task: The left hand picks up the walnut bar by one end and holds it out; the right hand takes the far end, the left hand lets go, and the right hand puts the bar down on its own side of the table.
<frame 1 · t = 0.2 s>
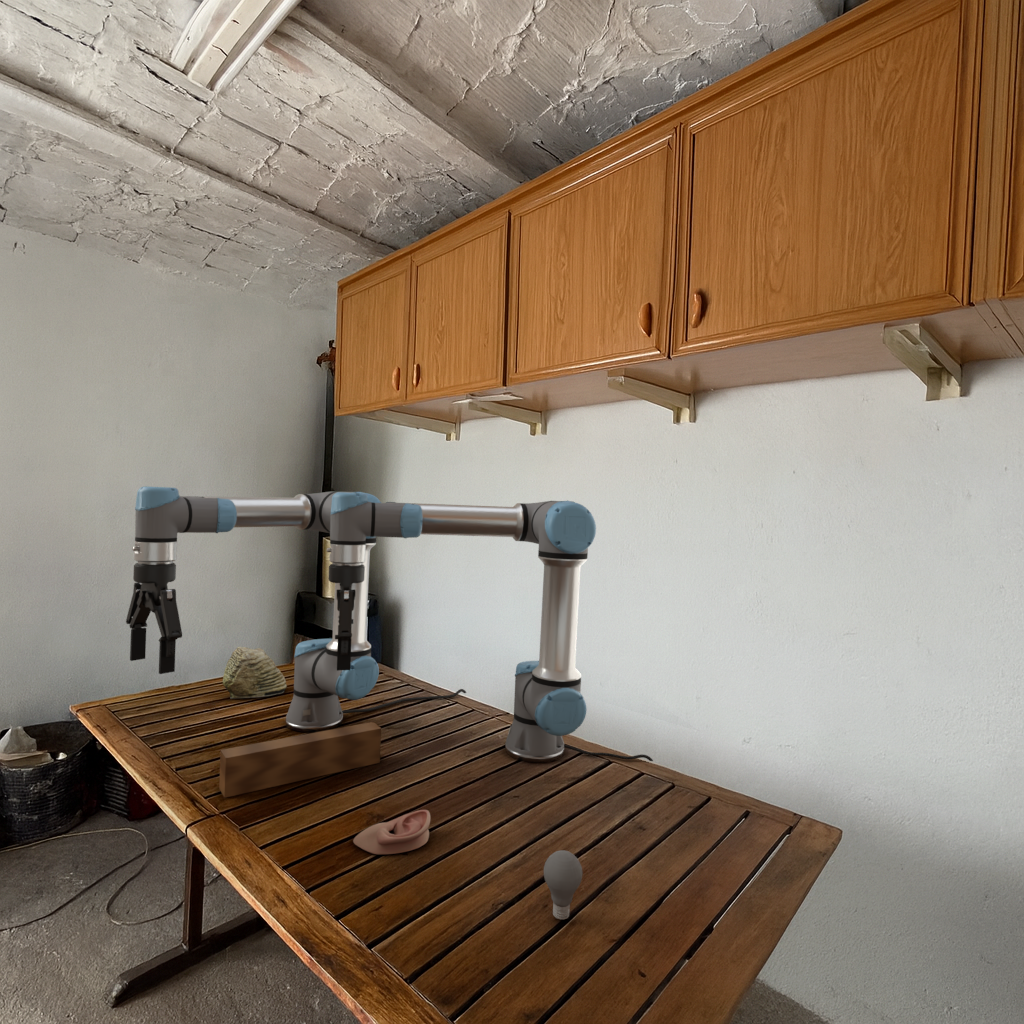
left hand: (151, 666, 129), 27 cm above the table, tool pointing down, fingers open, 13 cm apart
right hand: (343, 661, 137), 28 cm above the table, tool pointing down, fingers open, 13 cm apart
fossil: (254, 694, 198), on the table
bar: (304, 774, 144), on the table
anatomical model: (392, 839, 118), on the table
light bulb: (560, 918, 98), on the table
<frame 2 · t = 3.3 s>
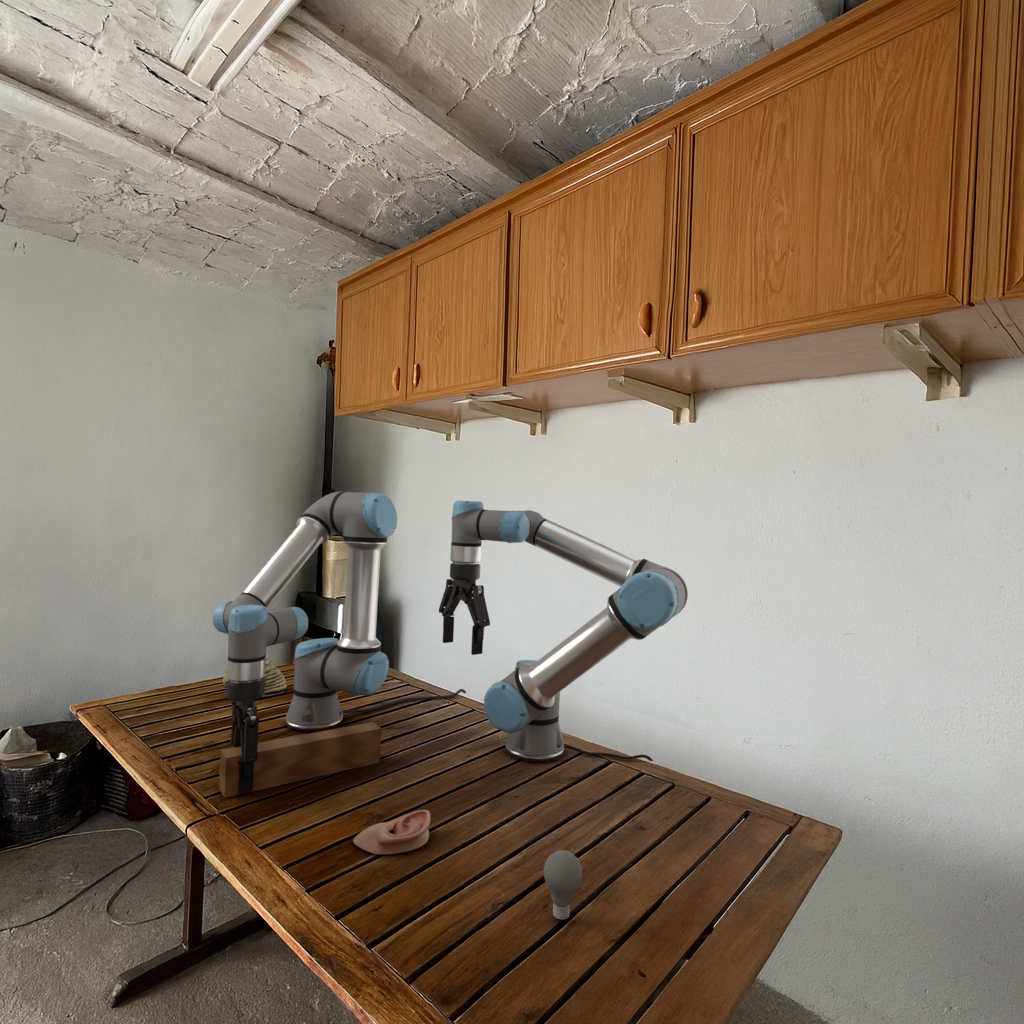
left hand: (242, 786, 136), 1 cm above the table, tool pointing down, fingers closed on bar, 5 cm apart
right hand: (461, 648, 157), 27 cm above the table, tool pointing down, fingers open, 13 cm apart
bar: (304, 774, 144), on the table, touching left hand
everything else where it was.
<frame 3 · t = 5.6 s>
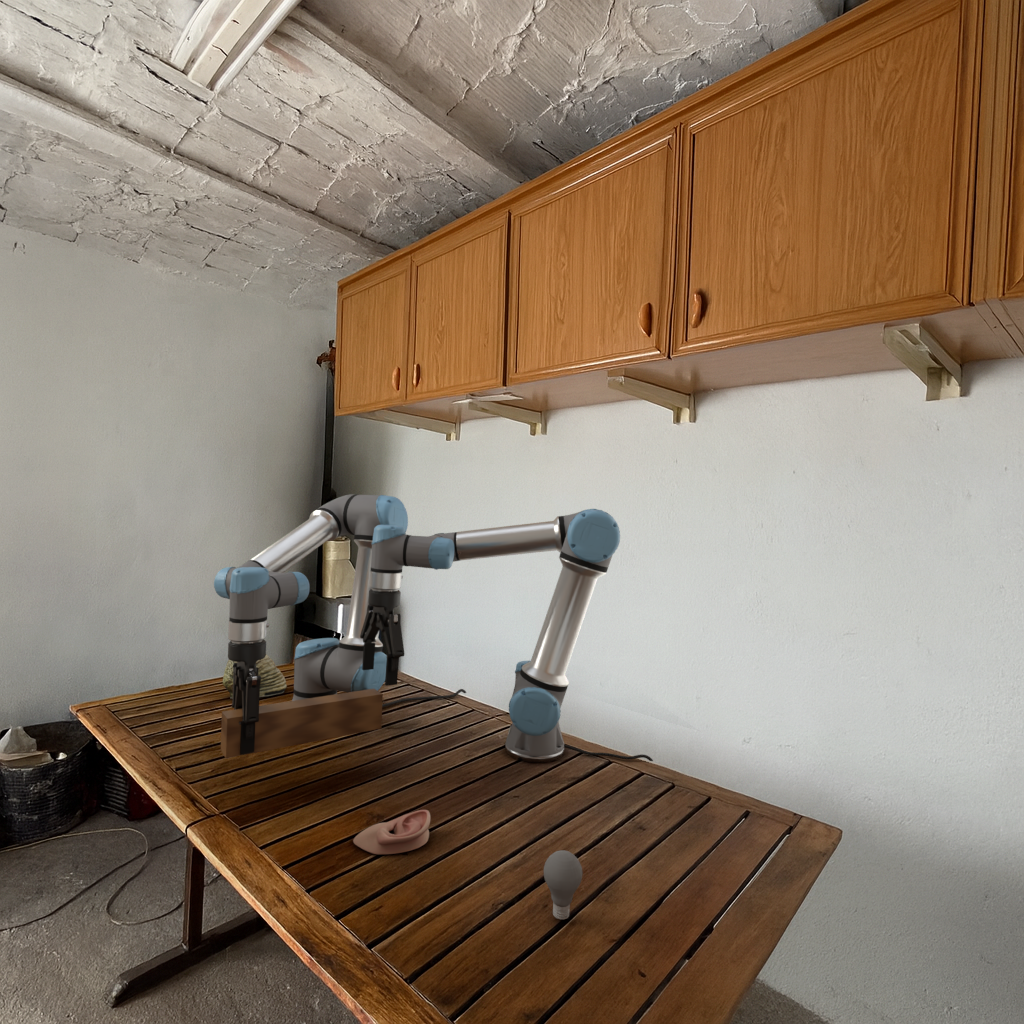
left hand: (243, 747, 136), 9 cm above the table, tool pointing down, fingers closed on bar, 5 cm apart
right hand: (378, 676, 153), 20 cm above the table, tool pointing down, fingers open, 13 cm apart
bar: (305, 738, 144), point 8 cm above the table, touching left hand
everything else where it was.
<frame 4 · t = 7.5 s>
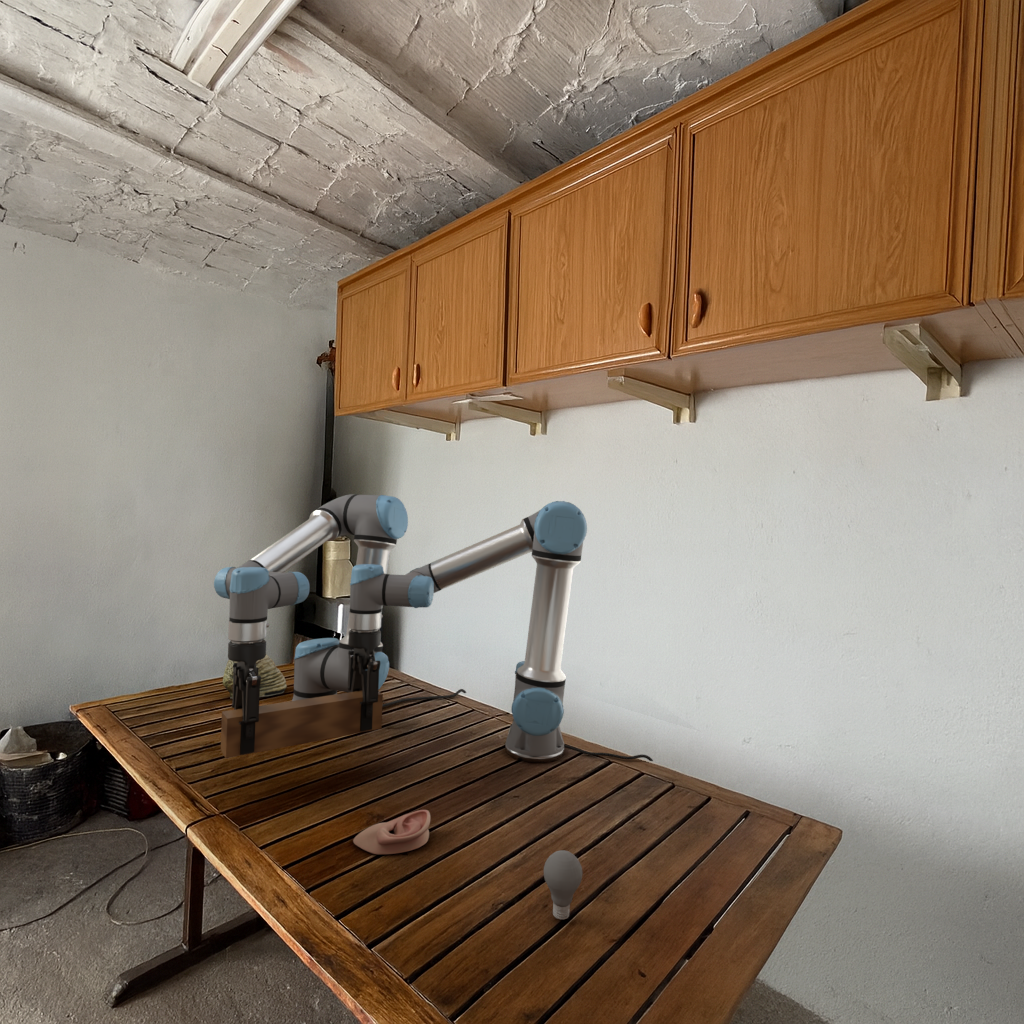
left hand: (243, 747, 136), 9 cm above the table, tool pointing down, fingers closed on bar, 5 cm apart
right hand: (361, 726, 151), 9 cm above the table, tool pointing down, fingers closed on bar, 5 cm apart
bar: (305, 738, 144), point 8 cm above the table, touching left hand, right hand
everything else where it was.
when the left hand's fingers open (9 cm above the table, at t = 8.3 s): bar stays where it is, held by the right hand.
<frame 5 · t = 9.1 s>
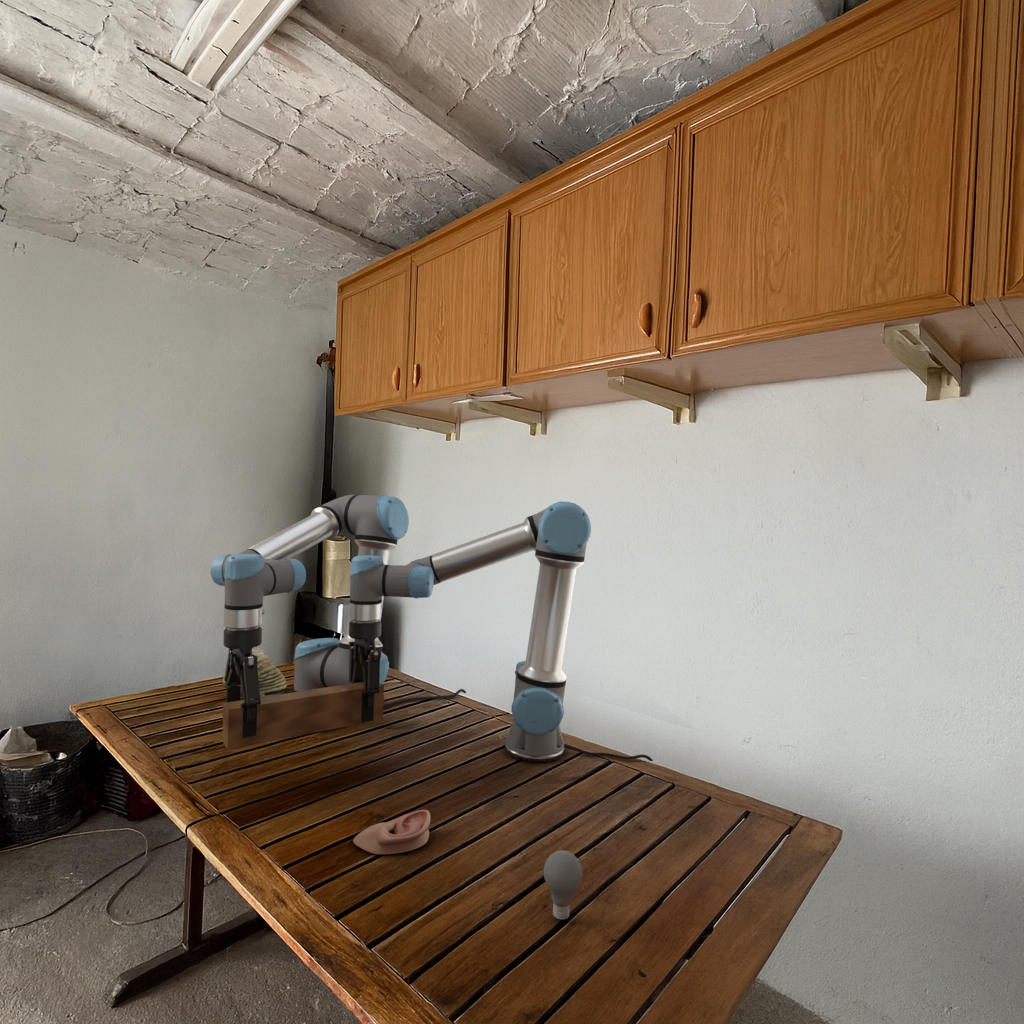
left hand: (240, 726, 135), 14 cm above the table, tool pointing down, fingers open, 13 cm apart
right hand: (362, 717, 151), 11 cm above the table, tool pointing down, fingers closed on bar, 5 cm apart
bar: (307, 730, 144), point 10 cm above the table, touching right hand
everything else where it was.
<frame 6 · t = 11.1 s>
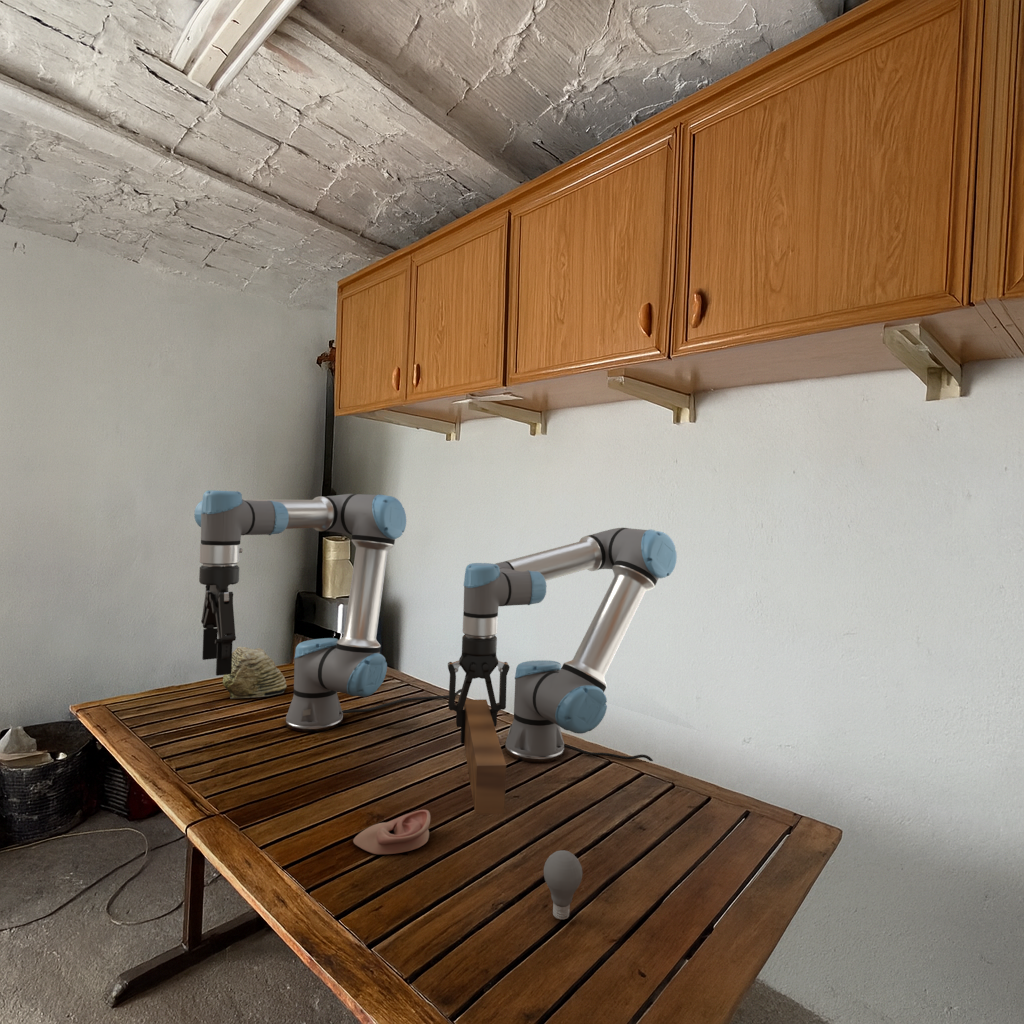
left hand: (216, 666, 132), 27 cm above the table, tool pointing down, fingers open, 13 cm apart
right hand: (475, 740, 138), 12 cm above the table, tool pointing down, fingers closed on bar, 5 cm apart
bar: (480, 769, 125), point 11 cm above the table, touching right hand
everything else where it was.
when the right hand's fingers open (2 cm above the table, at t = 14.9 s): bar stays where it is, on the table.
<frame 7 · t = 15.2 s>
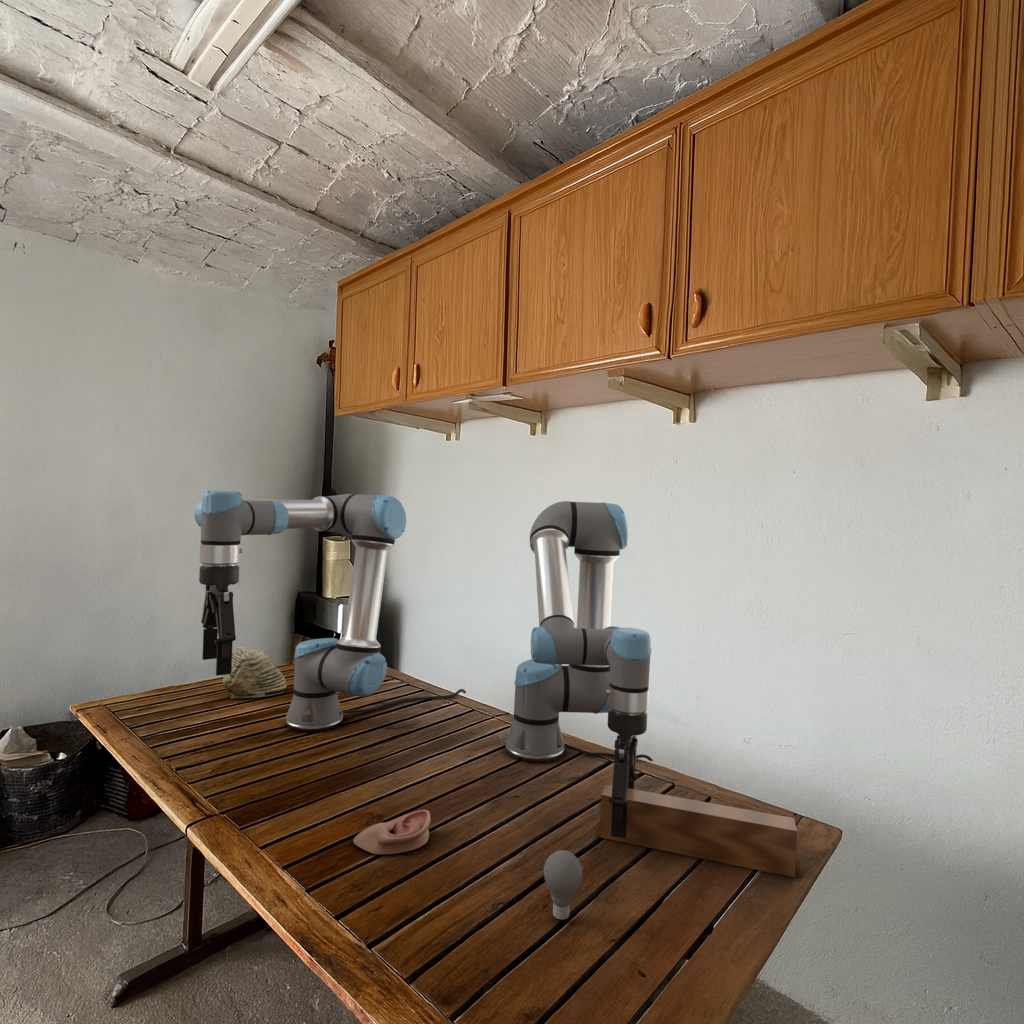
left hand: (216, 666, 132), 27 cm above the table, tool pointing down, fingers open, 13 cm apart
right hand: (622, 823, 123), 2 cm above the table, tool pointing down, fingers open, 9 cm apart
bar: (692, 849, 119), on the table
everything else where it was.
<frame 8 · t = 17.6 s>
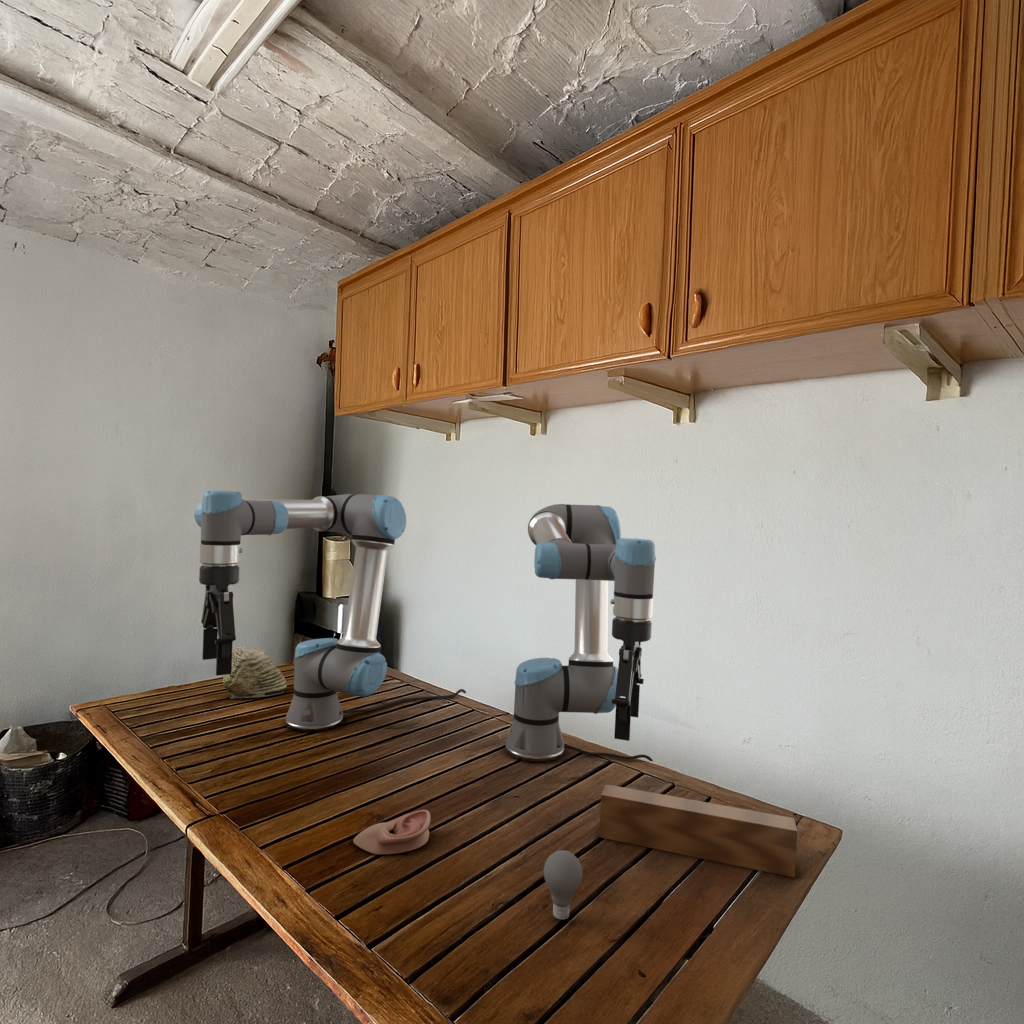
left hand: (216, 666, 132), 27 cm above the table, tool pointing down, fingers open, 13 cm apart
right hand: (626, 727, 123), 21 cm above the table, tool pointing down, fingers open, 13 cm apart
nothing on the table moved.
at the end: bar inside the target area (13.4 cm from its centre), on the table; the left hand is holding nothing; the right hand is holding nothing; bar at rest at the end (0.0 cm/s) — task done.
